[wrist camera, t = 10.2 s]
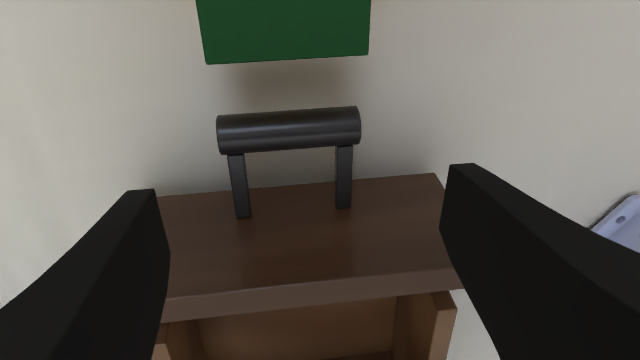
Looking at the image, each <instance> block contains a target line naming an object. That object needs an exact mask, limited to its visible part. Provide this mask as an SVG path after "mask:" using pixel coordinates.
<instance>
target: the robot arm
mask: <svg viewBox="0 0 640 360" xmlns="http://www.w3.org/2000/svg"><path fill="white" fill-rule="evenodd" d="M439 231H440V233H441V236H442V239H443V242H444V245H445V248H446V251H447V253H448V256H449V259H450V261H451V263H452V265H453V267H454V269H455V271H456V273H457V275H458V277H459V279H460V281H461V283H462V285H463V286H464V288H465V290H466V292H467V294H468V296H469V298H470V300H471V301H472V303H473V305H474V307H475V309H476V311H477V313H478V315H479V316H480V318H481V320H482V322H483V324H484V326H485V328H486V330H487V331H488V333H489V335H490V337H491V339H492V341H493V344H494V346H495V348H496V350H497V352H498V354H499V357H500V359H501V360H640V196H639V195H632V196H629V197H628V198H626V199H625V200H624V201H623V202H622V203H621V204H619V205H618V206H617V207H616V208H615V209H614V210H613V211H611V212H610V213H609V214H608V215H607V216H606V217H605V218H603V219H602V220H601V221H600V222H599V223H598V224H597V225H595V226H594V227H593V228H592V229H591V230H589V229H587V228H585V227H583V226H581V225H580V224H578V223H576V222H574V221H572V220H570V219H568V218H567V217H565V216H563V215H561V214H559V213H557V212H556V211H554V210H552V209H550V208H549V207H547V206H545V205H544V204H542V203H540V202H538V201H537V200H535V199H533V198H532V197H530V196H528V195H527V194H525V193H523V192H522V191H520V190H519V189H517V188H515V187H514V186H512V185H510V184H509V183H507V182H506V181H504V180H502V179H501V178H499V177H497V176H496V175H494V174H492V173H491V172H489V171H487V170H486V169H484V168H482V167H480V166H478V165H476V164H475V163H464V164H452V165H450V166H449V171H448V177H447V183H446V188H445V194H444V200H443V205H442V211H441V217H440V222H439ZM170 258H171V252H170V248H169V244H168V240H167V236H166V232H165V229H164V225H163V221H162V217H161V213H160V209H159V206H158V202H157V198H156V194H155V190H154V189H142V190H130V191H127V192H125V193H124V194H123V195H122V196H121V197H120V198H119V199H118V201H117V202H116V203H115V204H114V205H113V206H112V207H111V208H110V209H109V210H108V211H107V212H106V213H105V214H104V215H103V216H102V217H101V218H100V219H99V221H98V222H97V223H96V224H95V225H94V226H93V227H92V228H91V229H90V230H89V231H88V232H87V233H86V234H85V235H84V236H83V237H82V238H81V239H80V240H79V241H78V242H77V243H76V244H75V245H74V246H73V247H72V248H71V249H70V250H69V251H67V252H66V253H65V254H64V255H63V256H62V257H61V258H60V259H59V260H58V261H57V262H56V263H54V264H53V265H52V266H51V267H50V268H49V269H48V270H47V271H46V272H45V273H44V274H43V275H41V276H40V277H39V278H38V279H37V280H36V281H35V282H33V283H32V284H31V285H30V286H29V287H28V288H26V289H25V290H24V291H23V292H21V293H20V294H19V295H18V296H17V297H15V298H14V299H13V300H11V301H10V302H9V303H7V304H6V305H5V306H4V307H2V308H1V309H0V360H151V359H152V355H153V351H154V347H155V342H156V338H157V334H158V330H159V325H160V321H161V317H162V312H163V308H164V304H165V299H166V295H167V290H168V280H169V270H170Z"/></svg>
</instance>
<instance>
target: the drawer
mask: <svg viewBox="0 0 640 360" xmlns="http://www.w3.org/2000/svg"><path fill="white" fill-rule="evenodd" d="M216 133H217V142H218V148H219V152H220V154H221V155H227V160H228V167H229V173H230V180H231V187H232V190H230V191H219V192H207V193H196V194H184V195H173V196H162V197H156V198H157V202H158V206H159V209H160V213H161V217H162V221H163V225H164V229H165V232H166V236H167V240H168V244H169V248H170V252H171V258H170V270H169V280H168V290H167V295H166V299H165V304H164V308H163V312H162V317H161V321H160V325H159V330H158V334H157V338H156V342H155V347H154V351H153V355H152V359H151V360H446V356H447V352H448V348H449V343H450V339H451V335H452V331H453V326H454V322H455V318H456V313H457V307H456V305H455V303H454V301H453V299H452V296H451V294H450V292H449V290H456V289H465V288H464V286H463V285H462V283H461V281H460V279H459V277H458V275H457V273H456V271H455V269H454V267H453V265H452V263H451V261H450V259H449V256H448V253H447V251H446V248H445V245H444V242H443V239H442V236H441V233H440V231H439V222H440V217H441V211H442V205H443V200H444V194H445V189H444V187H443V186H442V184H441V182H440V181H439V179H438V178H437V176H436V174H435V173H424V174H412V175H401V176H390V177H378V178H367V179H355V180H352V163H353V145H355V144H359V143H360V140H361V118H360V113H359V110H358V108H357V106H344V107H330V108H316V109H302V110H288V111H274V112H260V113H246V114H232V115H218V116H217V118H216ZM330 146H335V181H333V182H321V183H310V184H298V185H287V186H276V187H264V188H253V189H249V186H248V178H247V170H246V162H245V154H244V153H255V152H267V151H280V150H292V149H305V148H317V147H330Z"/></svg>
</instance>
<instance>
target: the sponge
mask: <svg viewBox="0 0 640 360" xmlns="http://www.w3.org/2000/svg"><path fill="white" fill-rule="evenodd" d="M196 6H197V12H198V18H199V24H200V31H201V37H202V43H203V49H204V56H205V62H206V64H207V65H213V64H229V63H246V62H262V61H279V60H295V59H312V58H328V57H345V56H361V55H368V52H369V30H370V9H371V0H196Z"/></svg>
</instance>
